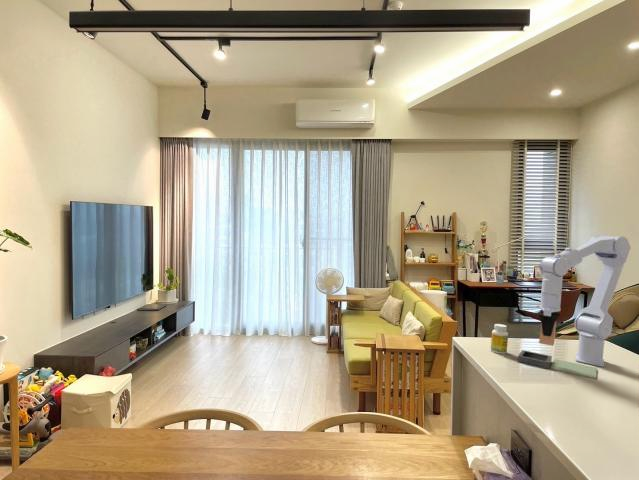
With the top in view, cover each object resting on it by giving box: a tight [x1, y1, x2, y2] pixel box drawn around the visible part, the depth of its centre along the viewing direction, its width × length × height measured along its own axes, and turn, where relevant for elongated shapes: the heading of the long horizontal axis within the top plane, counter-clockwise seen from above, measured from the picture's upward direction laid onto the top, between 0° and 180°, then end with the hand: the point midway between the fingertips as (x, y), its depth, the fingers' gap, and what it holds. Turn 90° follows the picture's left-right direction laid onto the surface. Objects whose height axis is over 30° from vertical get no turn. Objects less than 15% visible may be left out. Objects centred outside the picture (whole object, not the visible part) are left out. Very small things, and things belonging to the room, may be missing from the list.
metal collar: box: [517, 349, 553, 370], centre depth 134 cm, size 9×9×2 cm
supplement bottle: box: [490, 323, 509, 355], centre depth 143 cm, size 5×5×10 cm
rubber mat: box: [550, 358, 597, 380], centre depth 129 cm, size 12×12×1 cm
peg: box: [538, 321, 557, 347], centre depth 132 cm, size 4×4×8 cm
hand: (547, 334), depth 132 cm, fingers closed on peg, 4 cm apart
